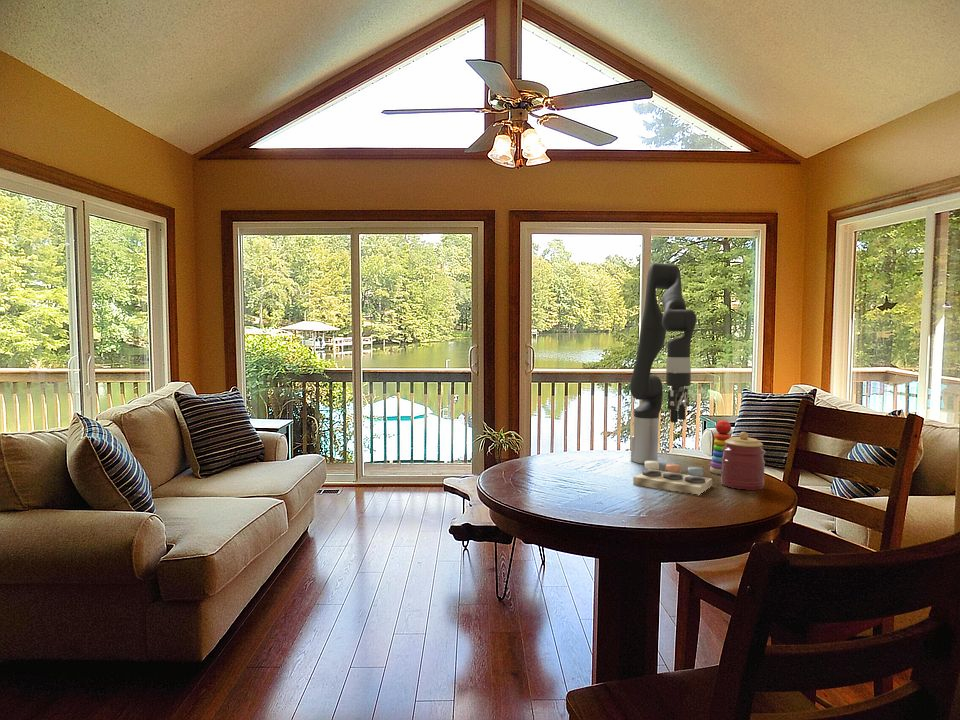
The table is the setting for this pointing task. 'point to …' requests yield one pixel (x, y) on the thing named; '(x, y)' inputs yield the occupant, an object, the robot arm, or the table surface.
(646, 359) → the robot arm
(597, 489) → the table surface
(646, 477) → the button panel
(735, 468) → the canister
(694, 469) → the slate button
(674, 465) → the terracotta button
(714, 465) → the stacking toy
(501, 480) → the table surface
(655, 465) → the ivory button
